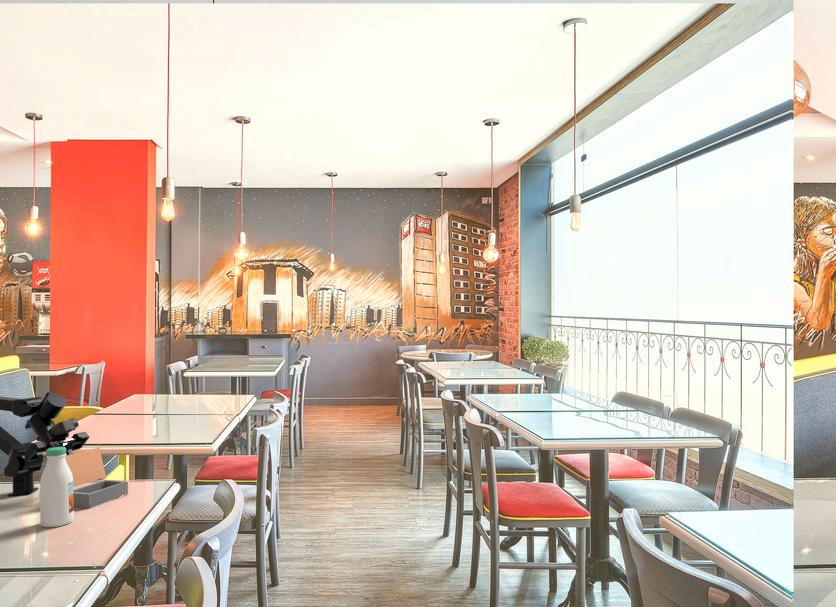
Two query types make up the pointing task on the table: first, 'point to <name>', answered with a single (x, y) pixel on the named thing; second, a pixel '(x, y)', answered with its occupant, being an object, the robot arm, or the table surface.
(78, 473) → the duct cover
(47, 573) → the table surface
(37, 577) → the table surface
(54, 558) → the table surface
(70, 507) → the milk bottle
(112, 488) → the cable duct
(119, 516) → the table surface
